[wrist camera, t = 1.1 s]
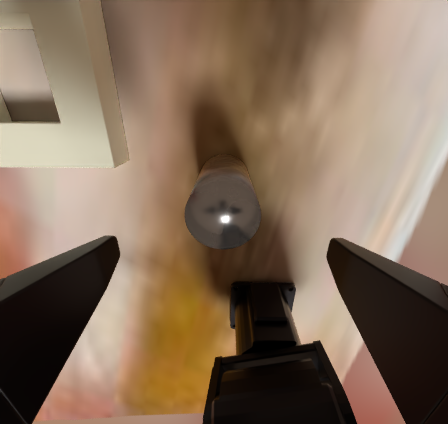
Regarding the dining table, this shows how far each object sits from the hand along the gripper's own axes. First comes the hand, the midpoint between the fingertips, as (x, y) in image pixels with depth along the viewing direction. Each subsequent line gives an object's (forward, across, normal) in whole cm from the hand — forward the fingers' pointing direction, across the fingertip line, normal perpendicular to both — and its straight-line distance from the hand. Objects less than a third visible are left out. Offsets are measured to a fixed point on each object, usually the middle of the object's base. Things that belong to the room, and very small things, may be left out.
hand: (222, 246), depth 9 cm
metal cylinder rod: (+10, 0, 0) cm, 10 cm away
